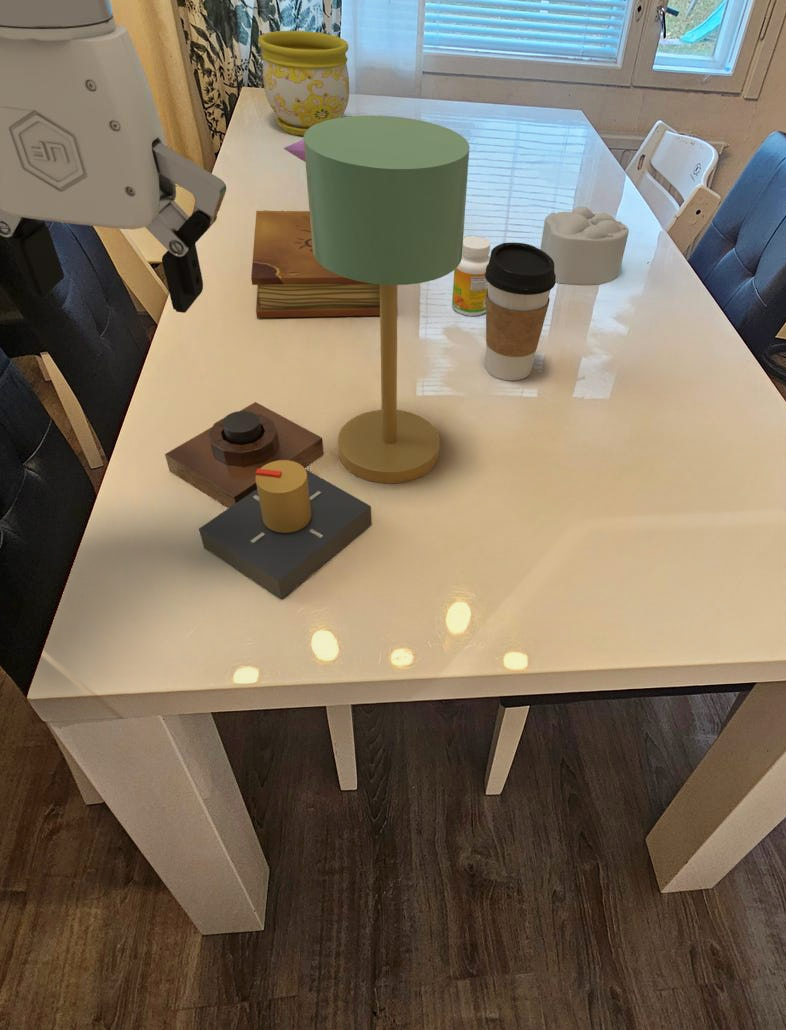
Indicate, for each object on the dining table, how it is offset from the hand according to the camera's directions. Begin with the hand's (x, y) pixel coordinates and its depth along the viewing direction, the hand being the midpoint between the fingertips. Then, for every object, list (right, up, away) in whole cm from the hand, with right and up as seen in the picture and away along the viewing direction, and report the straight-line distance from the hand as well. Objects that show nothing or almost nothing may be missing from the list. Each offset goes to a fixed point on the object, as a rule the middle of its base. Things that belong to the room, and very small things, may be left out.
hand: (118, 295), depth 49 cm
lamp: (+15, -8, +29) cm, 33 cm away
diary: (+2, +20, +56) cm, 59 cm away
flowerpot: (-12, +70, +107) cm, 128 cm away
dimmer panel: (+7, -17, +18) cm, 26 cm away
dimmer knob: (+7, -15, +16) cm, 24 cm away
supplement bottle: (+24, +15, +54) cm, 60 cm away
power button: (+1, -7, +23) cm, 24 cm away
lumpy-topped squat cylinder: (+42, +25, +66) cm, 82 cm away
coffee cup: (+29, +4, +43) cm, 52 cm away
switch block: (+1, -10, +25) cm, 27 cm away
